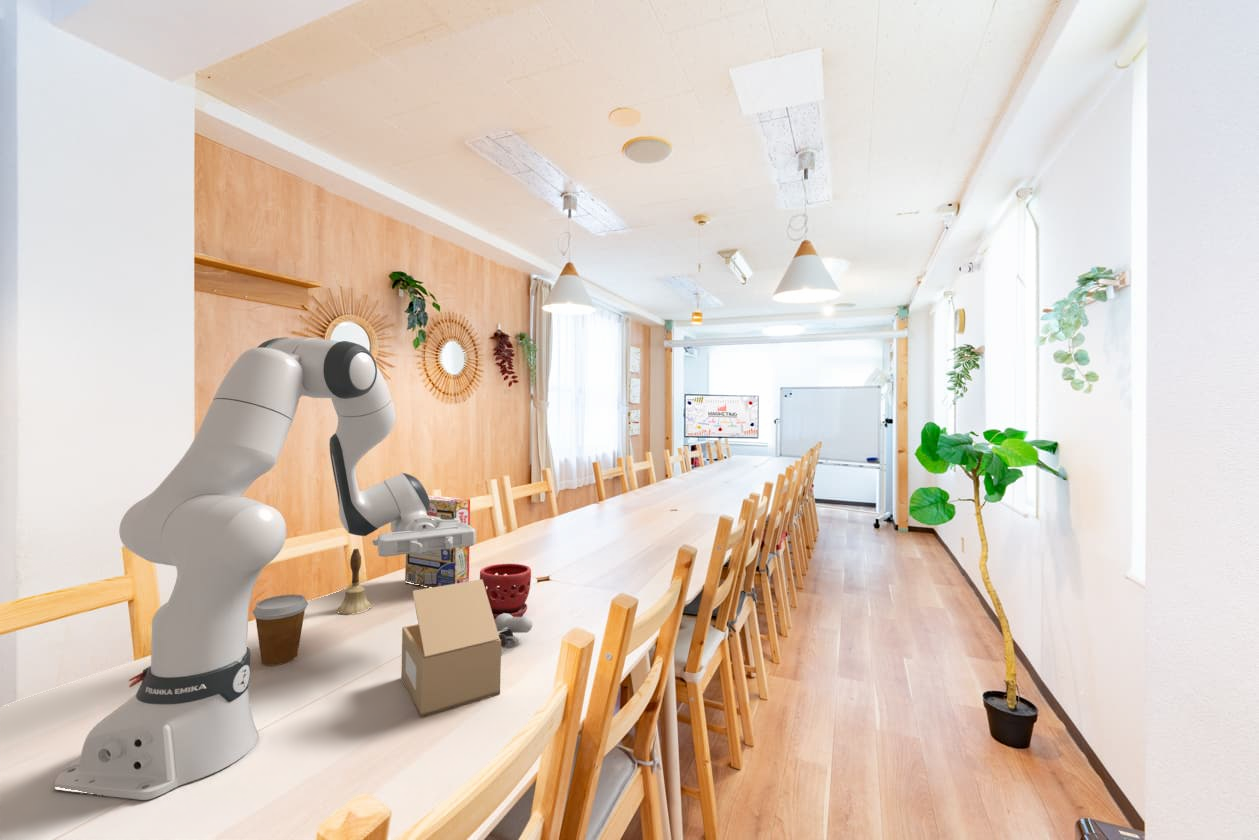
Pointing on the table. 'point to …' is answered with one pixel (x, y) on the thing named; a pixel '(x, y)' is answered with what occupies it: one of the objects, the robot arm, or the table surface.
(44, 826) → the table surface
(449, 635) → the carton flap
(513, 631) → the clip-on lamp
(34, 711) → the table surface
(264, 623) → the disposable coffee cup
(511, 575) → the plant pot
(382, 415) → the robot arm
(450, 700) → the carton
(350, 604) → the hand bell
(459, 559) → the board game box
